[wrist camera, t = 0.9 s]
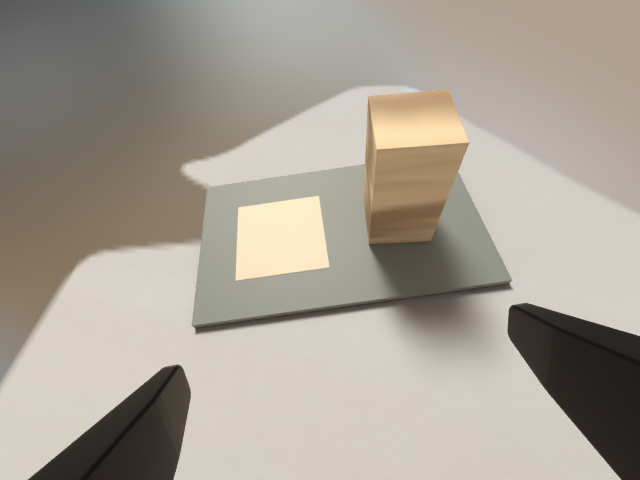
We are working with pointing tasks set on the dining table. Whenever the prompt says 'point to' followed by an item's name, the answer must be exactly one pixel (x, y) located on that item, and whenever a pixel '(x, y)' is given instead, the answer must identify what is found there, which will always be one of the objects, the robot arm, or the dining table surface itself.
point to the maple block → (410, 164)
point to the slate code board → (327, 250)
